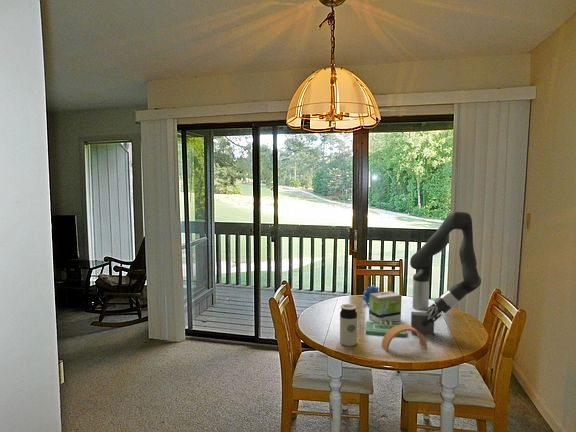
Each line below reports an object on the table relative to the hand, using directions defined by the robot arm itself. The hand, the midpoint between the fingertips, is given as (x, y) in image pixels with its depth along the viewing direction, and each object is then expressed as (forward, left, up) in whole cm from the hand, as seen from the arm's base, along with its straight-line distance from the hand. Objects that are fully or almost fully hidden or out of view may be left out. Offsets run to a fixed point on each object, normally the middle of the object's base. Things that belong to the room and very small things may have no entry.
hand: (422, 322), depth 194 cm
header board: (0, -18, -6) cm, 19 cm away
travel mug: (+20, -36, -6) cm, 41 cm away
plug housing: (0, 0, -6) cm, 6 cm away
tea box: (-16, -18, -6) cm, 25 cm away
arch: (+20, -10, -6) cm, 23 cm away
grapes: (-45, -26, -6) cm, 52 cm away
